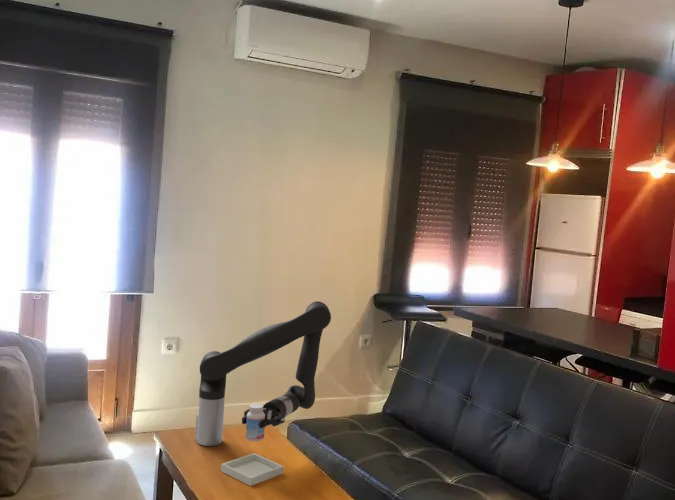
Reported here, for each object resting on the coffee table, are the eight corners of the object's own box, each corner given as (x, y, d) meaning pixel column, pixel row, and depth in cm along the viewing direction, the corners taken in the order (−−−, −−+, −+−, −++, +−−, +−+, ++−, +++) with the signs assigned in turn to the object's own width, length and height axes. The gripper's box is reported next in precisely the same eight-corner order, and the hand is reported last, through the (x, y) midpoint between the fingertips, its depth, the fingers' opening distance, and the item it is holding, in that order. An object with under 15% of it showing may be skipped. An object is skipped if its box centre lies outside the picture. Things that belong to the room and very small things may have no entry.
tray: (221, 471, 232) (221, 463, 232) (253, 459, 243) (254, 453, 243) (250, 485, 222) (250, 478, 222) (283, 473, 233) (283, 466, 233)
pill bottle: (260, 443, 228) (262, 409, 227) (243, 440, 229) (244, 407, 228) (266, 436, 234) (267, 404, 233) (249, 434, 235) (250, 401, 234)
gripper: (260, 394, 247) (233, 407, 231) (296, 402, 240) (270, 416, 225) (260, 415, 247) (232, 429, 232) (295, 423, 241) (269, 438, 226)
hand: (251, 423), depth 229 cm, fingers closed on pill bottle, 6 cm apart
